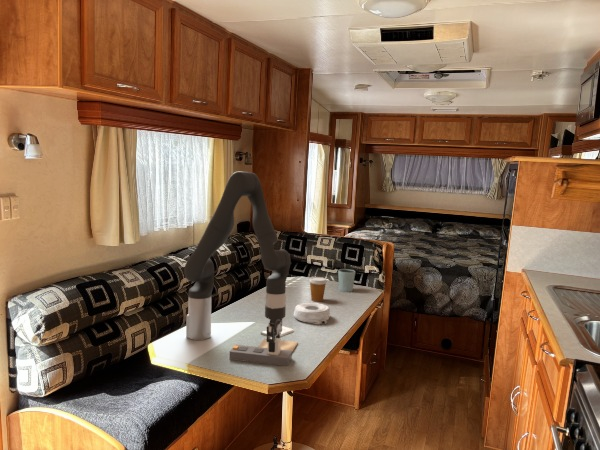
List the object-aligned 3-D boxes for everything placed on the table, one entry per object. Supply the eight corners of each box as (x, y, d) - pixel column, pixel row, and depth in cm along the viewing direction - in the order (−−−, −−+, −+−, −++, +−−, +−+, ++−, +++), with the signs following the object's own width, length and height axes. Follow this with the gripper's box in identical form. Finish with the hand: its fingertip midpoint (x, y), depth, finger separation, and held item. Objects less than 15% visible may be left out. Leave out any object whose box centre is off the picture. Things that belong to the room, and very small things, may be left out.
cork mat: (257, 348, 181) (257, 347, 181) (264, 339, 191) (264, 338, 191) (292, 352, 178) (292, 351, 178) (297, 343, 188) (297, 342, 188)
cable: (326, 326, 212) (327, 313, 211) (289, 322, 215) (290, 309, 214) (332, 314, 229) (332, 303, 228) (297, 311, 232) (297, 299, 231)
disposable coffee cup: (326, 303, 248) (327, 281, 247) (308, 302, 248) (309, 280, 247) (325, 298, 258) (326, 277, 256) (308, 297, 258) (309, 276, 256)
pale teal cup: (335, 288, 280) (335, 269, 279) (350, 287, 283) (351, 268, 282) (341, 292, 270) (342, 272, 269) (357, 292, 273) (358, 272, 272)
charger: (267, 361, 169) (267, 335, 168) (269, 358, 173) (270, 332, 172) (277, 363, 169) (278, 336, 167) (280, 359, 172) (281, 333, 171)
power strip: (229, 359, 170) (229, 349, 170) (235, 352, 177) (236, 343, 177) (287, 366, 166) (287, 356, 166) (291, 358, 173) (291, 349, 172)
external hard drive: (260, 335, 198) (279, 328, 207) (274, 340, 193) (293, 332, 202) (260, 331, 198) (279, 324, 207) (274, 336, 192) (293, 329, 202)
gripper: (270, 298, 176) (269, 340, 178) (259, 308, 162) (258, 354, 164) (289, 300, 174) (288, 342, 176) (280, 310, 160) (279, 356, 162)
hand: (274, 348), depth 170 cm, fingers open, 6 cm apart
